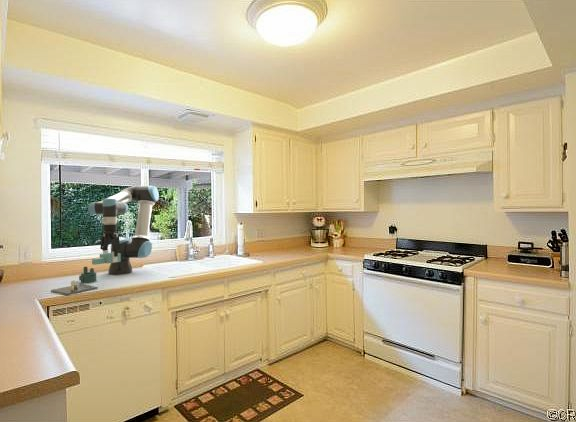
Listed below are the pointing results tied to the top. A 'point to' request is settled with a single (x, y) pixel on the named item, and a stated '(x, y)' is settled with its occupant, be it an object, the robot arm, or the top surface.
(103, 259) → the teal stepped block
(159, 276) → the top surface
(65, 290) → the post plate
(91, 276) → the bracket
